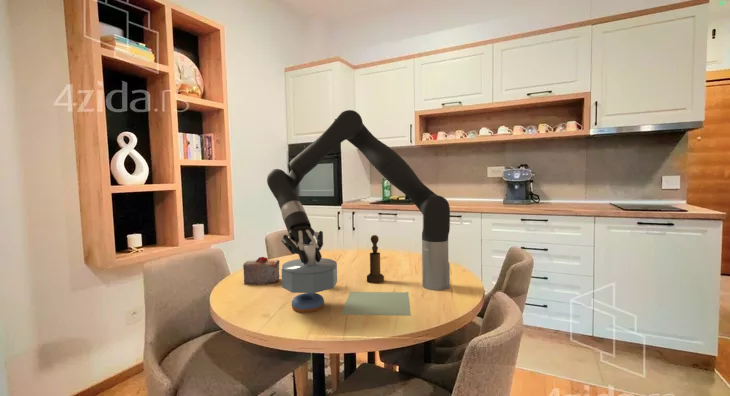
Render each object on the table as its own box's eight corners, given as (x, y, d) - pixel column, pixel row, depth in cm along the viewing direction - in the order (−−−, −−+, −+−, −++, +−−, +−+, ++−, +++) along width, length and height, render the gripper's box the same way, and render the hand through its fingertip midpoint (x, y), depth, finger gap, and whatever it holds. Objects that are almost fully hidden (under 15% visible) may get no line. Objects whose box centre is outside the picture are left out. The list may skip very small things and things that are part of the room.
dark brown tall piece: (386, 280, 134) (385, 234, 133) (381, 285, 128) (380, 237, 127) (369, 278, 137) (369, 233, 136) (364, 283, 131) (363, 236, 130)
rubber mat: (408, 293, 118) (408, 292, 118) (410, 316, 99) (410, 315, 99) (350, 292, 120) (350, 291, 120) (341, 315, 100) (341, 314, 100)
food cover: (341, 277, 113) (340, 240, 113) (331, 293, 97) (330, 251, 96) (292, 276, 115) (291, 240, 114) (274, 292, 99) (273, 250, 98)
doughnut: (309, 316, 100) (309, 300, 100) (284, 312, 105) (284, 296, 105) (330, 308, 108) (330, 293, 108) (306, 304, 113) (306, 290, 114)
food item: (282, 278, 140) (281, 254, 140) (278, 284, 132) (277, 258, 132) (247, 279, 139) (246, 255, 139) (241, 285, 131) (240, 260, 131)
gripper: (277, 211, 107) (294, 258, 98) (318, 208, 115) (337, 251, 106) (271, 227, 111) (287, 272, 102) (311, 223, 119) (329, 265, 110)
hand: (312, 261), depth 104 cm, fingers closed on food cover, 3 cm apart
